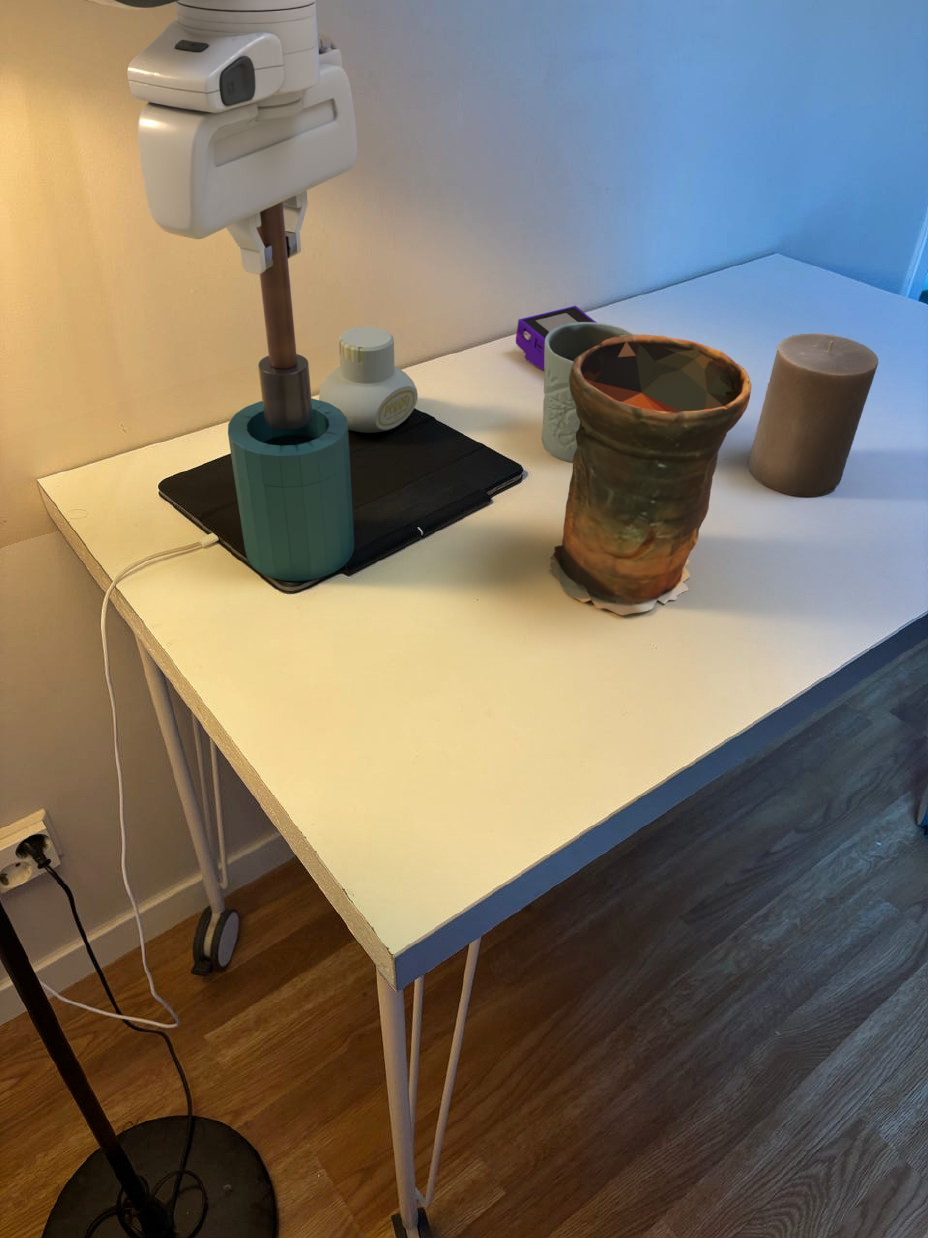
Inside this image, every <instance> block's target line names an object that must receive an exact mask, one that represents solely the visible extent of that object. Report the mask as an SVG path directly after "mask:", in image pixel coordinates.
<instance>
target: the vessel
mask: <svg viewBox="0 0 928 1238" xmlns="http://www.w3.org/2000/svg"><path fill="white" fill-rule="evenodd" d="M632 334H633V335H620V336H616V337H613V338H610V339H606V340H604V341H603V342H601V343H600V344H598V345H596V346H594V347H592V348H590V349H588V350H586V351H584V352H583V353H581V354H580V355H579V356H578V357H576V358H575V359H574V363H573V365H572V369H571V372H570V376H569V384H570V391H571V395H572V397H573V399H574V401H575V404H576V406H577V408H576V413H577V416H578V418H579V420H580V426H579V430H578V431H577V432H576V441H577V450H576V452H575V454H574V457H573V463H572V471H571V477H570V481H569V487H568V494H567V500H566V504H565V513H564V521H563V533H562V534H563V536H562V542H561V545H556V546H554V552H553V554H552V555H551V557H549V559H550V560H551V563H550V569H549V570H548V571H549V572H550V573H551V574H552V575H554V576H555V577H557V578H558V580H559V582H560V584H561V588H562V590H563V591H564V592H565V593H566V594H567V595H568V596H569V597H570V598H573V599H576V600H577V601H579V602H581V603H583V604H584V603H587V602H589V601H591V602H592V604H593V605H594V606H595V608H596V609H606V610H608V611H611V612H612V613H615V614H617V615H619V616H626V615H630V614H638V613H645V612H648V611H651V610H653V608H654V607H655V605H656V604H657V601H659V602H661V603H662V604H664V605H666V604H667V602H668V601H676V600H677V599H678V596H680V594H682V593H685V592H687V591H689V590H690V589H689V587H688V585H687V584H685V583H684V582H686V581H687V580H688V579H689V578H691V573H690V572H689V570H688V569H687V568H686V566H687V565H688V564H689V562H690V558H689V556H690V554H691V552H692V551H693V549H694V548H695V547H696V545H697V542H698V541H699V540H698V539H699V534H700V529H701V526H702V524H703V522H704V521H705V519H706V517H707V515H708V512H709V508H710V501H711V500H710V499H711V491H712V485H713V478H714V474H715V472H716V467H717V465H718V459H719V458H718V457H719V452H720V449H721V447H722V445H723V443H724V442H725V439H726V437H727V433H728V432H729V431H731V430H732V429H733V428H734V427H735V426H736V424H737V423H738V422H739V421H740V420H741V419H742V417H743V415H744V413H745V412H746V410H747V408H748V406H749V403H750V399H751V393H752V382H751V379H750V375H749V374H748V372H747V370H746V368H744V367H743V366H741V365H740V364H739V363H736V362H735V361H734V360H733V359H732V358H731V357H730V356H729V355H728V354H726V353H724V351H721V350H719V349H716V348H712V347H710V346H707V345H704V344H702V343H700V342H697V341H693V340H687V339H682V338H681V339H680V338H674V337H668V336H664V335H657V334H656V335H655V334H634V333H632Z"/></svg>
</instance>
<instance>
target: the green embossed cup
mask: <svg viewBox="0 0 928 1238" xmlns="http://www.w3.org/2000/svg"><path fill="white" fill-rule="evenodd" d="M633 334H634V333H632V332H631V331H629V330H626V329H624V328H622V327H619V326H615V325H612V324H608V323H604V322H597V323H595V322H577V323H569V324H565V325H561V326H559V327H556V328H554V329H553V330H551V331H550V332H549V333H548V334H547V336H546V338H545V353H544V369H545V371H544V375H543V376H544V377H543V394H544V395H543V401H542V402H543V403H542V404H543V406H542V410H543V411H542V430H541V443H542V446H543V448H544V449H545V451H546V452H547V453H548V454H550V455H551V456H553V457H555V458H557V459H559V460H560V461H561V460H562V461H565V462H568V463H572V464H573V457H574V454H575V452H576V450H577V441H576V432H577V431H578V430H579V426H580V420H579V418H578V416H577V413H576V408H577V406H576V404H575V401H574V399H573V397H572V395H571V391H570V384H569V376H570V372H571V369H572V365H573V363H574V359H575V358H576V357H578V356H579V355H580V354H581V353H583V352H584V351H586V350H588V349H590V348H592V347H594V346H596V345H598V344H600V343H601V342H603V341H604V340H606V339H610V338H613V337H616V336H620V335H633Z"/></svg>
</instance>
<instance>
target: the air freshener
mask: <svg viewBox="0 0 928 1238" xmlns="http://www.w3.org/2000/svg"><path fill="white" fill-rule="evenodd" d="M338 351H339V367H337V368H336V369H334V370H333V371H332V372H330V373H329V375H327V376H326V378H325V379H324V381H322V383H321V385H320V387H319V392H318V400H320V401H323V402H327V403H330V404H331V405H333V406H335V407H337V408H338V409H340V410H341V412H342V413H343V414H344V415H345V416H346V418H347V423H348V431H353V432H356V433H363V434H364V433H366V434H372V433H374V434H375V433H383V432H386V431H389V430H391V429H395V428H396V427H398V426H399V425H401V424H402V423H404V422H405V421H406V420H407V419H408V418H409V416H411V414H412V413H413V411H414V409H415V407H416V406H417V404H418V397H419V394H418V389H417V386H416V385H415V382H414V380H413V379H412V378H411V377H410V376H409V374H407V373H406V372H405V371H403V370H402V369H401V368H399V367H397V366H395V338H394V336H393V334H391V333H390V332H389V331H388V330H386V329H384V328H382V327H378V326H371V325H365V326H356V327H352V328H349V329H346V330H344V332H342V334H340V336H339V338H338Z"/></svg>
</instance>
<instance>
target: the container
mask: <svg viewBox="0 0 928 1238" xmlns="http://www.w3.org/2000/svg"><path fill="white" fill-rule="evenodd" d="M311 400H312V412H313V419H312V421H311V422H310V423H309V424H308V425H306V426H304V427H302V428H299V429H294V430H280V429H276V428H273V427H271V426H269V425H268V424H267V423H266V421H265V417H264V408H263V400H261V401H258V402H254V403H253V404H250V405H247V406H245V407H243V408H242V409H241V410H239V411H237V412H235V414H233V416H232V418H231V419H230V421H229V422H228V425H227V436H228V437H227V438H228V444H229V450H230V456H231V457H230V459H231V462H232V471H233V477H234V485H235V490H236V498H237V506H238V511H239V516H240V517H239V518H240V525H241V532H242V539H243V545H244V552H245V554H246V558H247V561H248V563H249V564H250V566H251V567H252V568H253V569H254V570H255V571H257V572H258V573H260V574H261V575H263V576H265V577H268V578H271V579H275V580H279V581H284V582H285V581H286V582H305V581H306V582H307V581H313V580H318V579H321V578H324V577H326V576H330V575H332V574H334V573H336V572H337V571H339V570H340V569H342V568H343V567H345V566H346V565H347V563H349V561H350V560H351V558H352V556H353V554H354V552H355V551H354V550H355V531H354V512H353V495H352V494H353V493H352V492H353V491H352V475H351V474H352V473H351V455H350V440H349V439H350V437H349V430H348V423H347V418H346V416H345V415H344V414H343V413H342V412H341V410H340V409H338V408H337V407H335V406H333V405H331V404H330V403H327V402H323V401H320V400H319V399H317V398H312V397H311Z"/></svg>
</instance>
